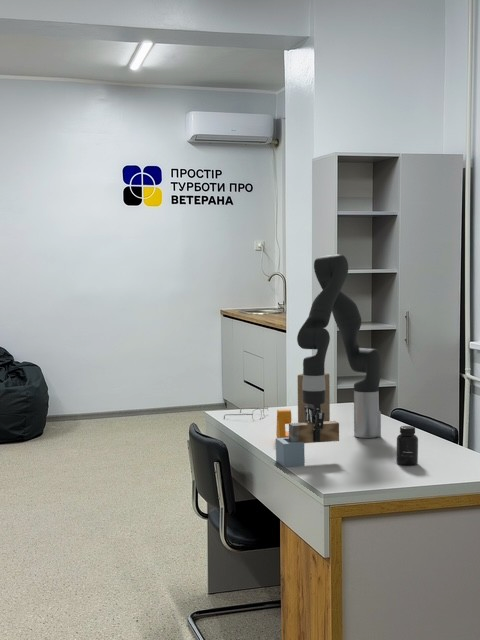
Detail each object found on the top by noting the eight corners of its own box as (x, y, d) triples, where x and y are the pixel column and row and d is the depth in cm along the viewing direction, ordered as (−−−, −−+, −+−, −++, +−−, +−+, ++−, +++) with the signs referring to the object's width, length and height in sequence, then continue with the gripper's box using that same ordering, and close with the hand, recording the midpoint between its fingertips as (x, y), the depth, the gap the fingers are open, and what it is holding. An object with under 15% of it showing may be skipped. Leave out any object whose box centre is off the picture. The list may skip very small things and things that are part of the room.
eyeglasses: (255, 422, 341) (255, 410, 341) (223, 419, 348) (223, 408, 347) (270, 415, 355) (270, 404, 355) (240, 413, 362) (240, 402, 362)
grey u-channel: (296, 459, 272) (295, 437, 272) (304, 465, 264) (304, 442, 263) (276, 460, 271) (275, 438, 270) (283, 466, 262) (283, 443, 262)
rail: (334, 438, 273) (334, 420, 272) (339, 441, 269) (339, 423, 268) (288, 441, 269) (288, 423, 269) (292, 444, 265) (292, 425, 264)
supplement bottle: (405, 467, 259) (405, 430, 259) (392, 462, 266) (392, 426, 265) (422, 464, 263) (422, 427, 262) (408, 460, 269) (408, 424, 268)
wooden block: (330, 421, 338) (329, 373, 337) (319, 425, 330) (318, 376, 328) (308, 419, 343) (308, 372, 342) (297, 423, 335) (297, 374, 334)
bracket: (299, 444, 295) (299, 411, 295) (279, 445, 295) (279, 412, 294) (295, 438, 306) (295, 406, 305) (276, 438, 306) (276, 407, 305)
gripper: (332, 391, 262) (332, 443, 263) (317, 385, 276) (318, 435, 277) (309, 392, 260) (310, 445, 261) (296, 386, 274) (296, 436, 275)
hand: (314, 439), depth 269 cm, fingers closed on rail, 4 cm apart
